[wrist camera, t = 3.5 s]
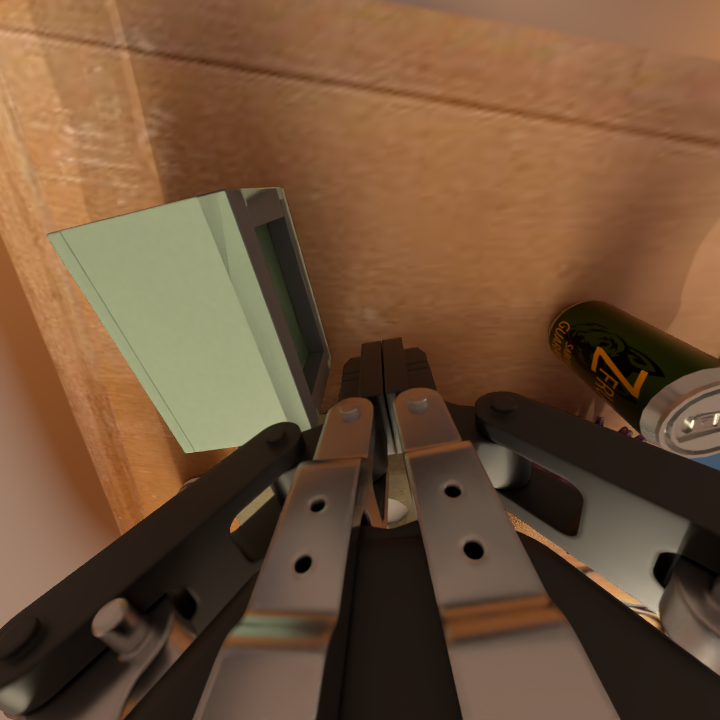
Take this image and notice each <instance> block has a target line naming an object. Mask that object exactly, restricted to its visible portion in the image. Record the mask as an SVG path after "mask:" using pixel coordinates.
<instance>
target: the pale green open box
mask: <svg viewBox="0 0 720 720" xmlns="http://www.w3.org/2000/svg"><path fill="white" fill-rule="evenodd" d="M46 236H47V238H48V239H49V241H50V242H51V244H52V245H53V247H54V249H55V250H56V252H57V253H58V255H59V256H60V258H61V260H62V261H63V263H64V264H65V266H66V267H67V269H68V270H69V272H70V274H71V275H72V277H73V278H74V280H75V281H76V283H77V285H78V286H79V288H80V289H81V291H82V292H83V294H84V296H85V297H86V299H87V300H88V302H89V303H90V305H91V306H92V308H93V310H94V311H95V313H96V314H97V316H98V317H99V319H100V321H101V322H102V324H103V325H104V327H105V328H106V330H107V332H108V333H109V335H110V336H111V338H112V339H113V341H114V342H115V344H116V346H117V347H118V349H119V350H120V352H121V353H122V355H123V357H124V358H125V360H126V361H127V363H128V364H129V366H130V368H131V369H132V371H133V372H134V374H135V375H136V377H137V378H138V380H139V382H140V383H141V385H142V386H143V388H144V389H145V391H146V393H147V394H148V396H149V397H150V399H151V400H152V402H153V404H154V405H155V407H156V408H157V410H158V411H159V413H160V415H161V416H162V418H163V419H164V421H165V422H166V424H167V425H168V427H169V429H170V430H171V432H172V433H173V435H174V436H175V438H176V440H177V441H178V443H179V444H180V446H181V447H182V449H183V451H184V452H185V453H191V452H200V451H207V450H215V449H222V448H229V447H236V446H242V445H244V444H245V443H246V442H248V441H249V440H250V439H252V438H253V437H254V436H256V435H257V434H258V433H260V432H261V431H262V430H264V429H265V428H267V427H269V426H271V425H273V424H276V423H280V422H293V423H295V424H297V425H298V426H299V427H300V430H301V432H303V431H305V430H308V429H311V428H314V427H316V426H317V423H318V419H319V414H320V409H321V405H322V400H323V396H324V392H325V387H326V383H327V378H328V374H329V370H330V365H331V361H332V358H331V354H330V351H329V347H328V344H327V340H326V337H325V333H324V330H323V326H322V323H321V319H320V316H319V312H318V309H317V305H316V302H315V298H314V295H313V291H312V288H311V284H310V281H309V277H308V274H307V270H306V267H305V263H304V260H303V256H302V253H301V249H300V246H299V242H298V239H297V235H296V232H295V228H294V224H293V221H292V217H291V214H290V210H289V207H288V203H287V200H286V196H285V193H284V189H283V187H264V188H239V189H223V190H219V191H215V192H211V193H207V194H203V195H199V196H195V197H191V198H187V199H183V200H179V201H175V202H171V203H167V204H163V205H159V206H155V207H151V208H147V209H143V210H139V211H135V212H131V213H127V214H123V215H119V216H115V217H111V218H107V219H103V220H99V221H95V222H91V223H87V224H83V225H79V226H75V227H71V228H67V229H63V230H60V231H55V232H51V233H48V234H47V235H46Z"/></svg>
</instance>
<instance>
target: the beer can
mask: <svg viewBox="0 0 720 720" xmlns="http://www.w3.org/2000/svg"><path fill="white" fill-rule="evenodd" d="M549 344H550V347H551V350H552V351H553V352H554V354H555V355H556V356H557V357H558V358H559V359H560V360H561V361H563V362H564V363H565V364H566V365H567V366H568V367H569V368H570V369H571V370H572V371H573V372H574V373H575V374H576V375H578V376H579V377H580V378H581V379H582V380H583V381H584V382H585V383H586V384H587V385H588V386H589V387H590V388H591V389H592V390H594V391H595V392H596V393H597V394H598V395H599V396H600V397H601V398H602V399H603V400H604V401H605V402H606V403H607V404H609V405H610V406H611V407H612V408H613V409H614V410H615V411H616V412H617V413H618V414H619V415H620V416H621V417H622V418H623V419H625V420H626V421H627V422H628V423H629V424H630V425H631V426H632V427H633V428H634V429H635V430H636V431H637V432H638V433H640V434H641V435H642V436H643V437H644V438H645V439H646V440H647V441H648V442H650V443H653V444H655V445H657V446H659V447H661V448H662V449H664V450H667V451H670V452H672V453H675V454H677V455H680V456H683V457H685V458H700V457H707V456H711V455H714V454H718V453H720V360H719V359H717V358H715V357H713V356H711V355H709V354H707V353H705V352H703V351H701V350H699V349H697V348H695V347H693V346H691V345H689V344H687V343H685V342H683V341H681V340H679V339H677V338H675V337H673V336H671V335H669V334H667V333H665V332H664V331H662V330H660V329H658V328H656V327H654V326H652V325H650V324H648V323H646V322H644V321H642V320H640V319H638V318H636V317H634V316H632V315H630V314H628V313H626V312H624V311H622V310H620V309H618V308H616V307H614V306H612V305H610V304H608V303H606V302H603V301H596V300H593V301H585V302H579V303H576V304H573V305H571V306H569V307H567V308H566V309H564V310H563V311H562V312H560V313H559V314H558V315H557V317H556V318H555V319H554V320H553V322H552V324H551V326H550V329H549Z"/></svg>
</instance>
